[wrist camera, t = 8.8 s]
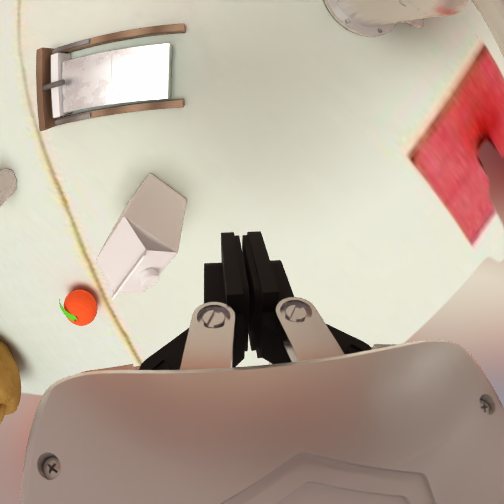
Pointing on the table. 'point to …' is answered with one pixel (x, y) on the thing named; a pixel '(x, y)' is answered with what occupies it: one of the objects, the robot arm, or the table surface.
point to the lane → (45, 80)
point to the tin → (141, 73)
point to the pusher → (56, 76)
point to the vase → (8, 382)
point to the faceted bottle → (6, 184)
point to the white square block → (87, 81)
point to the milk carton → (143, 238)
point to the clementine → (80, 307)
